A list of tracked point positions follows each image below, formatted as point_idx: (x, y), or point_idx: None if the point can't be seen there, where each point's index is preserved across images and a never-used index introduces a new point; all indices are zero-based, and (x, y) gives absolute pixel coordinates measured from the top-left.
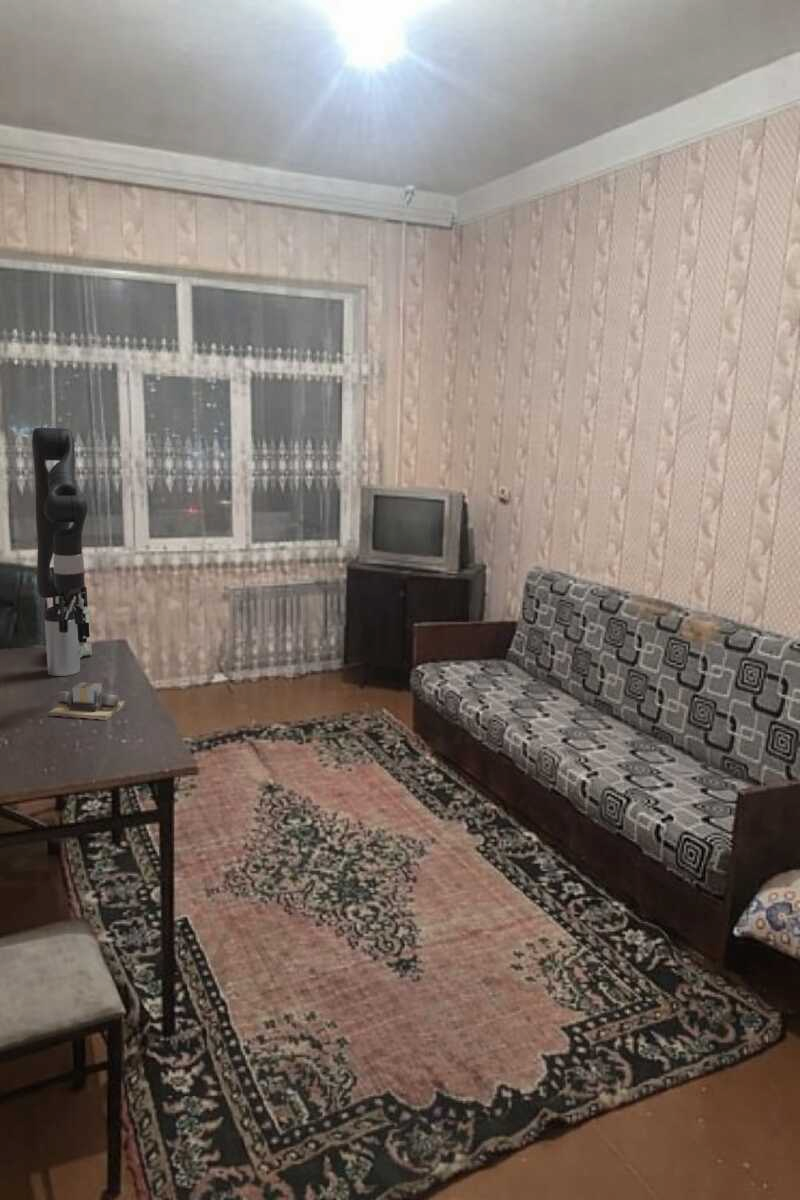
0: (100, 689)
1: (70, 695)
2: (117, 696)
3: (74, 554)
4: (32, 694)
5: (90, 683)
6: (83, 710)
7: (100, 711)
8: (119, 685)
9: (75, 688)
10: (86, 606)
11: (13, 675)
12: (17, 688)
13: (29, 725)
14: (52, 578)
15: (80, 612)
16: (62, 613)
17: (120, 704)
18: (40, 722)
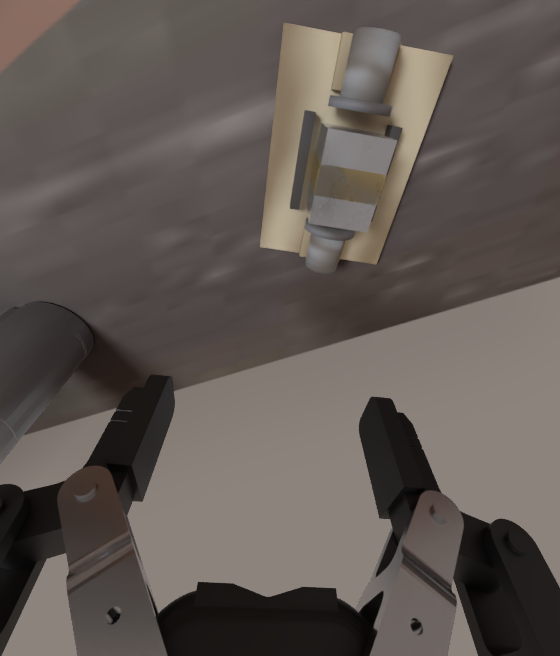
0: (336, 128)
1: (353, 231)
2: (365, 28)
3: None
4: (223, 339)
5: (325, 179)
6: None
7: (395, 102)
8: (82, 145)
9: (371, 219)
10: (11, 492)
11: None
12: (193, 373)
13: (433, 280)
14: None
15: (135, 466)
16: (544, 587)
17: (321, 38)
18: (417, 264)
